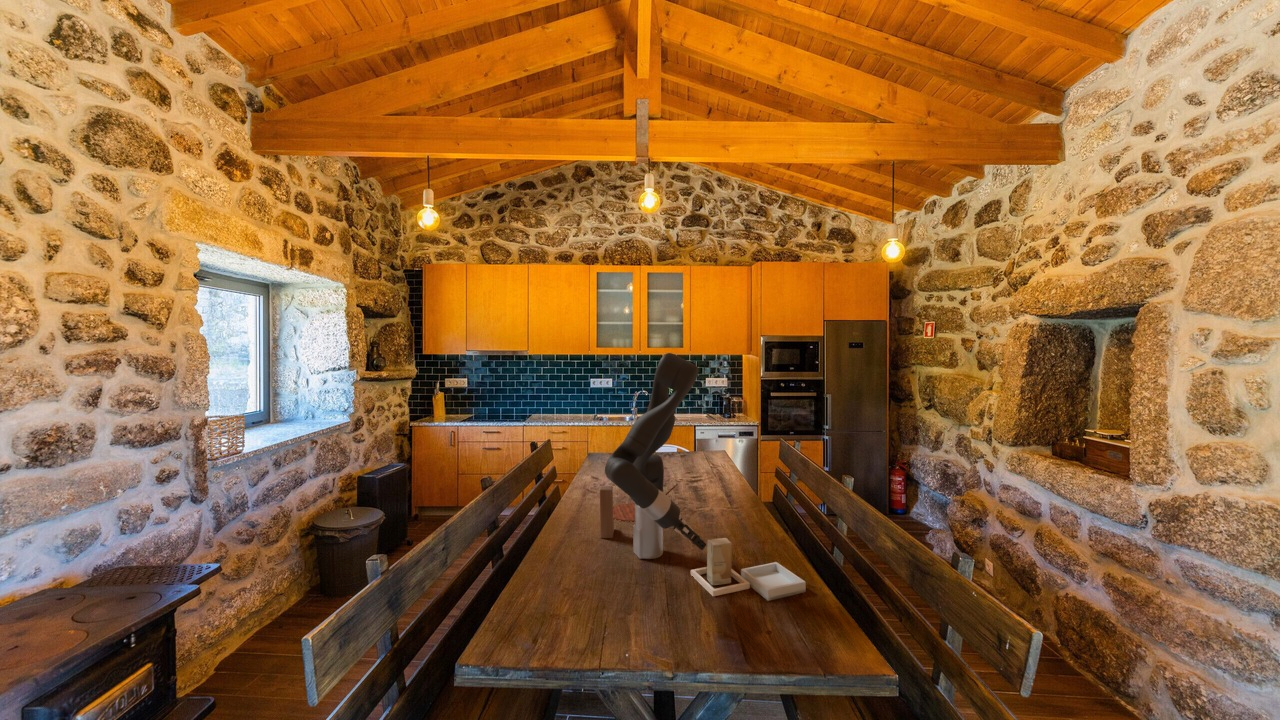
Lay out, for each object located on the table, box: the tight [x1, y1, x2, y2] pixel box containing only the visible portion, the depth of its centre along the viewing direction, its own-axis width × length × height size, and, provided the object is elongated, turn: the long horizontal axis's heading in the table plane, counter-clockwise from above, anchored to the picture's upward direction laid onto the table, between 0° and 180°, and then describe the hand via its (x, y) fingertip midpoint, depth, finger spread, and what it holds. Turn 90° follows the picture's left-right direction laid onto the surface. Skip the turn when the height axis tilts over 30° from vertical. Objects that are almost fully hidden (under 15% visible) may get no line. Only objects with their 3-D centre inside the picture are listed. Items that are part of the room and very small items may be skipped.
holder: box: [690, 566, 751, 597], centre depth 149 cm, size 12×14×2 cm
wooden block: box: [599, 485, 615, 539], centre depth 186 cm, size 9×4×18 cm, turn 1°
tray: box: [740, 561, 807, 602], centre depth 146 cm, size 13×14×3 cm
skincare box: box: [706, 537, 733, 586], centre depth 148 cm, size 6×4×12 cm
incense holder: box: [613, 483, 678, 523], centre depth 209 cm, size 21×30×11 cm
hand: (697, 541), depth 145 cm, fingers open, 8 cm apart
